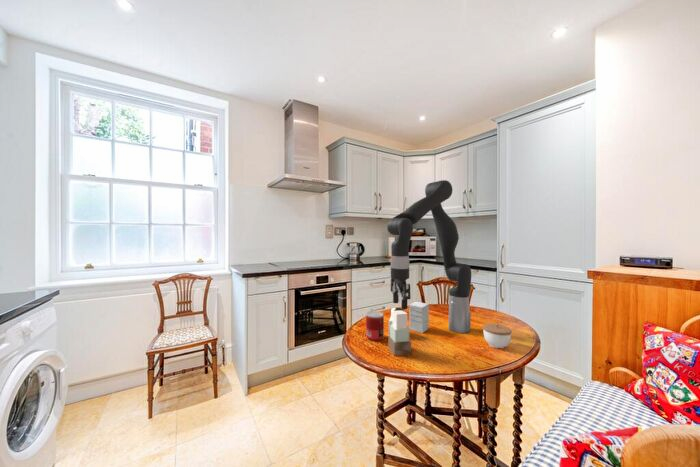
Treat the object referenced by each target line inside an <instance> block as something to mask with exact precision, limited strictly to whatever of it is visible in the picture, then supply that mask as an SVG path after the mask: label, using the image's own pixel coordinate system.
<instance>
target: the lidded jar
mask: <svg viewBox="0 0 700 467" xmlns="http://www.w3.org/2000/svg"><path fill="white" fill-rule="evenodd" d="M482 329H483V330H482V331H483V337H484V340H485V341H486V343H488V344H487V345H489V347H491V346H492V347H491V348H494V347H495V349H498V348H503V349H505V348H506V347H508V346H509V344H510V342H511V339H512V332H513V331H512V328H510V327H508V326H506V325H503V324H499V323H492V322H490V323H484V324H483V325H482ZM504 347H505V348H504Z"/></svg>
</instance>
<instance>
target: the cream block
mask: <svg viewBox="0 0 700 467" xmlns="http://www.w3.org/2000/svg"><path fill="white" fill-rule="evenodd" d="M403 310H404V309H403ZM403 310H398V311H392V325H393V326H394V327H395V328H396V329H407V327H408V313H407V312H406V311H405V310H404V311H403Z"/></svg>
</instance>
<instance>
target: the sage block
mask: <svg viewBox="0 0 700 467" xmlns="http://www.w3.org/2000/svg"><path fill="white" fill-rule="evenodd" d="M389 336H390V337H391V338H392V339H393V341H394V342H395V343H396V342H407V341H409V340H410V329H409V326H407V329H396V328H395V327H394V326H393V325H392V324H391V325H390V335H389Z"/></svg>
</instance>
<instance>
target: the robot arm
mask: <svg viewBox="0 0 700 467" xmlns="http://www.w3.org/2000/svg"><path fill="white" fill-rule="evenodd" d="M424 192H425V197H423V198H421V199H419V200H418V201H416V202H414V203H413V204H411V205H410V206H409V207H408V208H407V209H406V210H404V211H403V212H401V213H399V214H396V216H394V217H392V218H391V219H390V220H389V221H388V223H387V232H388V233H389V234H391V235H392V236H398V239H397V240H396V241H392V242H391V245H390V251H391V255H390V256H391V257H390V292H391V293H392V303H393V304H399V301H400V300H399V295H400V298H401V309H403V310H407V309H408V301H409V300H411V284H410V283H407V280H408V279H409V278H410V257H409V255H410V254H409V253H410V250H409V246H410V242H411V238H412V234H413V231H414V230H413V229H414V226H413V225H415V224H417V223H418V222H420V220H422V218H423V217H425V216H426V215H427V214H428V213H429V212H431V215H432V218H433V221H434V225H435V230H436V233H437V237H438V240H439V243H440V248H441V254H442V259H443V265H444V267H443V268H444V271H445V275H446V277H447V279H448V280H450V281H453V282H457V283H456V287H450V288H449V290H448V329H449V330H450V331H451V332H455V333H459V334H466V333H469V332H471V324H472V323H471V318H472V316H471V315H472V314H471V313H472V312H471V311H470V292H471V287H472V286H471V285H472V268H471V266H469V264H466V263H460V262H457V260H456V255H455V252H456V248H457V246H458V243H459V238H460V237H459V236H460V235H459V231H458V228H457V224H456V223H455V221H454V220H453V219H452V218H451V217H450V216H449V215H448V214H447V213H446V211H445V210H444V208H443V205H442V203H443V202H445V201H447V200H448V199H450V197H452V194H453V185H452V183H451V182H450V181H449V180H446V179H445V180H444V179H442V180H438V181H432V182H430V183H427V184H426V186H425V188H424Z"/></svg>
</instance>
